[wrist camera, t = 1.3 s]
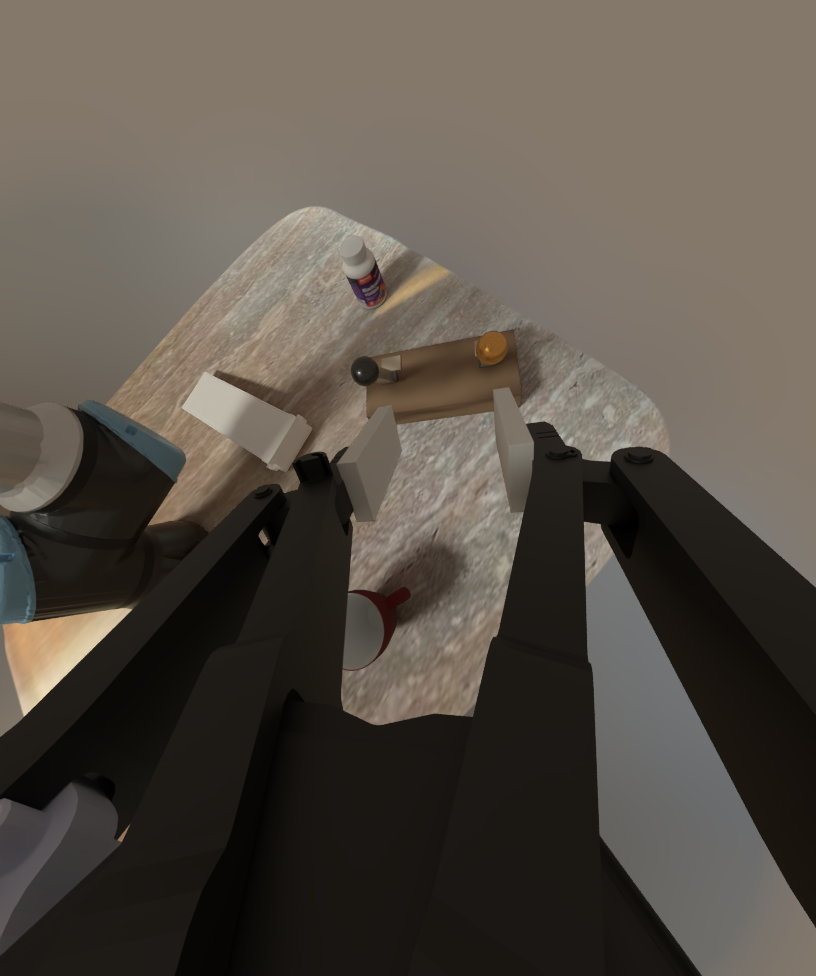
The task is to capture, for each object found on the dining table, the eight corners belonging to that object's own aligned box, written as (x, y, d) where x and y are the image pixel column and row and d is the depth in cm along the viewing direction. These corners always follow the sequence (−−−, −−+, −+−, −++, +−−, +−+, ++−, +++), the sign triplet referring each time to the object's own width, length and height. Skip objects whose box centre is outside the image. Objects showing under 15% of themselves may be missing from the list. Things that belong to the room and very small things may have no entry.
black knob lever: (402, 387, 46) (376, 383, 34) (382, 391, 46) (349, 387, 34) (399, 365, 45) (371, 351, 33) (378, 368, 46) (343, 357, 34)
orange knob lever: (500, 371, 42) (510, 360, 30) (476, 375, 43) (477, 365, 31) (498, 346, 42) (508, 324, 30) (474, 351, 42) (474, 331, 30)
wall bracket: (217, 424, 66) (301, 477, 54) (179, 416, 60) (264, 473, 47) (231, 379, 64) (321, 423, 52) (193, 365, 58) (286, 411, 46)
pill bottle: (373, 315, 55) (350, 266, 45) (353, 302, 56) (327, 252, 47) (393, 292, 55) (374, 238, 45) (373, 280, 56) (350, 226, 47)
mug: (394, 560, 44) (369, 561, 35) (432, 605, 42) (416, 619, 32) (342, 611, 44) (304, 625, 35) (377, 658, 42) (346, 688, 32)
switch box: (518, 407, 45) (521, 393, 41) (375, 427, 50) (366, 415, 46) (511, 347, 47) (513, 328, 43) (375, 372, 52) (366, 357, 48)
